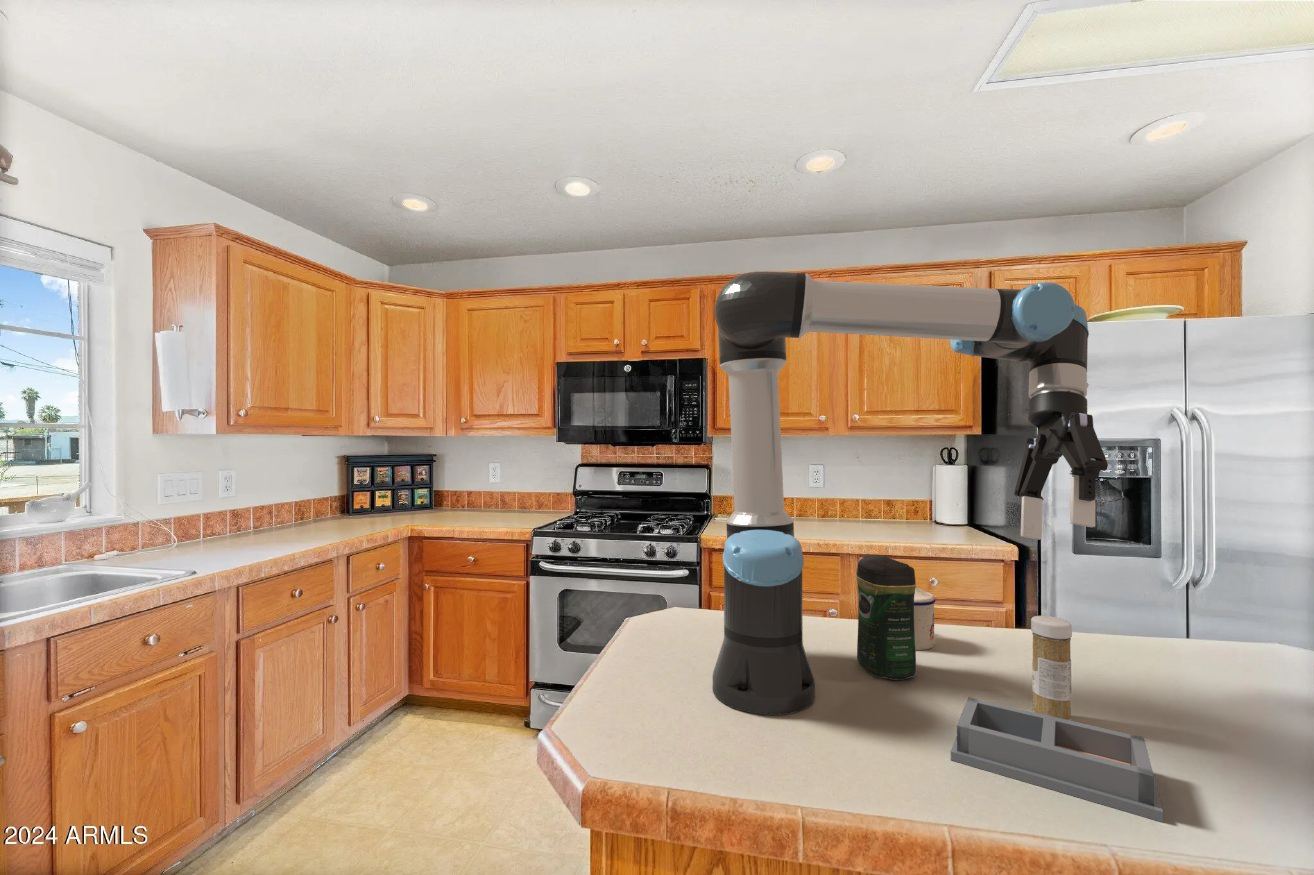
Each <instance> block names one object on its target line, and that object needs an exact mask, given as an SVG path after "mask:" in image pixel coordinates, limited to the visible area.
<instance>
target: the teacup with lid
mask: <svg viewBox="0 0 1314 875" xmlns="http://www.w3.org/2000/svg"><path fill="white" fill-rule="evenodd" d="M935 603H936V598H935V596H934V595H933V594H932V593H931V592H928V591H925V590H923V589H922V588H921V587H919V586H917V585H916V589H915V595H914V630H915V651H924V650H929V649H932V648H933V647H934V646H935Z"/></svg>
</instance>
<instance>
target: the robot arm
mask: <svg viewBox="0 0 1314 875" xmlns="http://www.w3.org/2000/svg"><path fill="white" fill-rule="evenodd" d="M714 304H715V305H714V320H715V322H716V323H715V324H716V326H717V335H718V336H717V337H718V352H719V353H718V354H719V355H718V357H719V368H720V369H721V370H722V371H723V372H724V373H725V374H726V375H727V377H728V390H729V392H728V393H729V412H730V434H731V437H730V438H731V439H730V441H731V456H732V458H731V460H732V461H731V462H732V463H731V464H732V478H733V479H732V484H733V487H732V488H733V507H734V508H733V509H734V511H733V513H732V514H731V515H730V516H729V517H728V518H727V519H726V521H725V522H726V540H725V543H724V548H723V549H724V550H723V553H722V563H723V577H724V578H723V624H724V625H723V641H722V643H721V646H720V650H719V653H718V656H717V659H716V662H715V665H714V669H713V672H712V693H713V695H714V696H715V697H716V698H717V699H718V700H719V701H720V702H721V703H723V704H724V705H726V706H729V707H731V708H734V709H736V710H739V711H743V712H746V713H751V714H752V713H753V714H759V715H772V716H773V715H775V716H777V715H788V714H793V713H797V712H801V711H803V710H806V709H807V708H809V707H810V706H811V705H812V704H813V703H814V702H815V701H816V700H815V699H816V681H815V677H814V675H813V671H812V668H811V665H810V662H809V658H808V655H807V653H806V650H805V647H804V640H803V639H804V638H803V635H804V634H803V628H804V626H803V620H804V619H803V569H804V568H803V567H804V565H805V563H804V562H805V561H804V560H805V559H804V555H803V549H802V547H803V546H802V545H801V543H800V541H799V540H798V539H797V538H796V536H795V527H794V526H795V525H794V519H793V517H791V516H790V515H789V514H788V513H787V512H786V510H785V499H784V479H783V478H784V477H783V458H782V457H783V456H782V454H783V453H782V434H781V431H782V430H781V411H780V410H781V409H780V390H779V388H780V386H779V372H780V371H781V370H782V369H783V368H784V367H785V365H786V364H787V347H786V346H787V345H786V344H787V343H786V338H792V339H795V338H797V339H801V338H802V337H804V336H805V335H806V334H808V333H810V332H811V333H825V334H826V333H827V334H844V335H860V336H862V335H864V336H879V337H880V336H881V337H884V336H885V337H899V338H900V337H902V338H918V339H919V338H920V339H937V340H938V339H939V340H949V341H950V348H951V349H952V351H954V352H955V353H956V354H962V355H965V356H966V355H967V356H970V357H981V358H989V359H997V360H1006V361H1013V362H1019V363H1029V373H1028V374H1029V375H1028V376H1029V377H1028V398H1030V399H1029V400H1028V410H1027V411H1028V412H1027V419H1028V422H1029V423H1030V424H1031V425H1033V426H1035V427H1036V428H1037V434H1036V437H1035V438H1033V437H1027V438H1026V440H1025V448H1024V454H1023V458H1022V462H1021V465H1020V470H1019V472H1018V476H1017V480H1016V485H1015V488H1014V492H1013V494H1014V496H1015V497H1020V498H1021V512H1020V514H1021V516H1020V517H1021V518H1020V537H1021V538H1027V539H1031V540H1032V539H1033V540H1038V541H1040V540H1042V538H1043V537H1042V535H1043V534H1042V533H1043V532H1042V530H1043V529H1042V528H1043V501H1044V498H1043V496H1041V494H1042V491H1043V489H1044V487H1045V484H1046V482H1047V480H1048V477H1049V474H1050V472H1051V470H1052V467H1053V465H1055V464H1057V463H1058V462H1059V459H1060V458H1062V456H1063V458H1064V459H1065V461H1066V462H1067V463H1068V465H1069V467H1070V469H1071V471H1070V473H1069V475H1072V477H1070V490H1069V491H1070V492H1069V493H1070V500H1069V501H1070V502H1069V503H1070V504H1069V506H1070V507H1069V509H1070V510H1069V512H1070V513H1069V524H1070V525H1074V526H1075V525H1077V526H1080V527H1081V526H1082V527H1087V528H1095V527H1096V480H1097V479H1098V478H1099V476H1100V472H1101V471H1103V472H1104V471H1107V469H1108V468H1109V465H1108V464H1109V463H1108V461H1107V458H1106V455H1105V454H1104V451H1103V448H1102V446H1101V443H1100V441H1099V438H1098V436H1097V435H1098V434H1097V433H1096V430H1095V428H1094V417H1093V415H1092V414H1088V399H1087V398H1086V397H1087V395H1088V388H1089V385H1090V384H1089V383H1088V347H1089V346H1088V342H1089V335H1090V333H1089V332H1090V330H1089V326H1088V324H1089V323H1088V317H1087V312H1086V311H1085V309H1084V308H1083V307H1082V306H1080V305H1078V304H1076V303H1075V300H1074V297H1073V296H1072V294H1071V293H1070V292H1069V290H1067V289H1066V288H1065V287H1064V286H1062V285H1060V284H1058V283H1055V282H1048V281H1046V282H1045V281H1044V282H1038V283H1036V284H1035V283H1034V284H1032V285H1027V286H1026V287H1023V288H1022V289H1020V288H1018V289H1016V288H1015V289H1014V288H985V287H984V288H983V287H963V286H962V287H961V286H938V285H922V284H921V285H918V284H917V285H916V284H898V283H897V284H894V283H875V282H873V283H872V282H856V281H855V282H854V281H852V282H851V281H830V280H815V279H813V278H812V276H811V275H809V273H808V272H807V273H805V272H789V271H788V272H787V271H786V272H785V271H750V272H746V273H742V274H739V275H737V276H735V277H733V278H732V279H731V280H729V281H728V282H726V284H725V285H723V287H722V288H721V290H720V291H719V293H718V294H717V297H716V300H715V303H714Z"/></svg>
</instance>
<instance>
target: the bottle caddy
mask: <svg viewBox="0 0 1314 875" xmlns="http://www.w3.org/2000/svg"><path fill="white" fill-rule="evenodd" d="M950 761H952V762H956V763H960V764H963V765H966V766H970V767H972V768H976V769H979V770H980V769H981V770H984V771H987V772H990V773H994V774H996V775H997V774H998V775H1000V776H1004V777H1008V778H1011V779H1014V780H1017V781H1021V782H1024V783H1028V784H1031V785H1034V786H1038V787H1042V788H1045V789H1048V790H1051V791H1054V792H1058V793H1062V794H1065V795H1069V796H1072V797H1075V798H1080V799H1082V800H1085V801H1089V802H1091V803H1092V802H1093V803H1096V804H1099V805H1102V806H1105V807H1110V808H1112V809H1117V810H1120V811H1124V812H1126V813H1130V814H1133V815H1137V816H1141V817H1143V818H1147V819H1151V820H1154V821H1158V822H1160V823H1164V810H1163V806H1162V802H1161V799H1160V795H1159V791H1158V787H1157V783H1156V780H1155V776H1154V775H1155V774H1154V771H1153V767H1152V764H1151V759H1150V756H1149V752H1148V748H1147V745H1146V740H1145V737H1143V736H1138V735H1135V734H1129V733H1126V732H1120V731H1117V730H1113V729H1108V728H1103V727H1100V726H1095V725H1091V724H1086V723H1083V722H1079V721H1074V720H1072V721H1070V720H1066V719H1061V718H1057V717H1053V716H1048V715H1044V714H1040V713H1035V712H1032V711H1031V710H1027V709H1022V708H1019V707H1018V708H1017V707H1013V706H1008V705H1006V704H1005V705H1004V704H1001V703H996V702H991V701H987V700H984V699H978V698H974V697H971V696H969V697H968V698H967V700H966V702H965V705H964V707H963V710H962V712H961V714H960V717H959V719H958V721H957V725H956V736H955V740H954V742H953V744H952V747H951V749H950Z"/></svg>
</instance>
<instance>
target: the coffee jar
mask: <svg viewBox="0 0 1314 875" xmlns="http://www.w3.org/2000/svg"><path fill="white" fill-rule="evenodd" d="M915 573H916V571H915V569H914V567H912V566H910V565H909V564H908V563H905V562H902V561H898V560H895V559H893V558H891V557H888V556H886V555H864V556H863V557H862V558H861V559H859V561H858V563H857V569H856V581H857V590H858V614H857V616H858V617H857V641H856V642H857V643H856V646H857V647H856V659H857V662H858V664H859V665H860V666H861V667H862V669H864V670H866V672H869V674H870V675H873V676H874V677H876V678H883V679H890V680H892V681H904V680H906V679H910V678H913V677H915V676H916V674H917V650H915V630H914V595H915V589H916V586H917V584H916V583H917V582H916V574H915Z"/></svg>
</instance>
